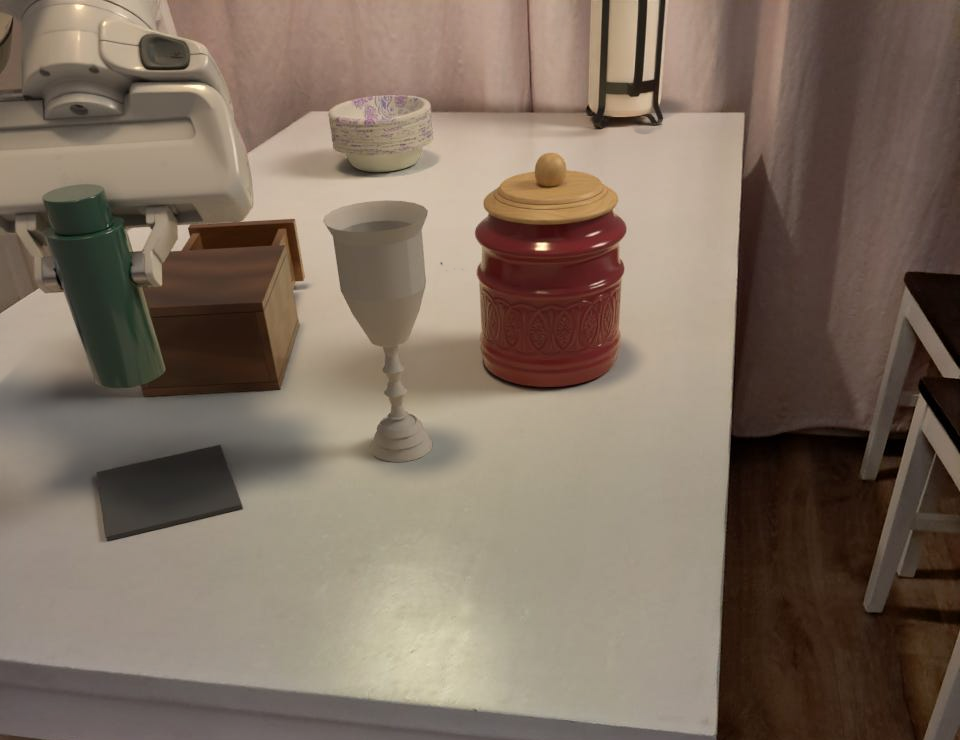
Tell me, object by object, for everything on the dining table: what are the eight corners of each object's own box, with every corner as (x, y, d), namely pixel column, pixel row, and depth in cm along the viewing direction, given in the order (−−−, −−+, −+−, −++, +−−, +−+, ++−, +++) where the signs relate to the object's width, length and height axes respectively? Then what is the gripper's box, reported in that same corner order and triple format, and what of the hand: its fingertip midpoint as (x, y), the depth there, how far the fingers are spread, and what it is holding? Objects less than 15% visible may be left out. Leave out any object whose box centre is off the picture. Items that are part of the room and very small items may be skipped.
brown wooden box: (178, 331, 96) (157, 251, 90) (299, 325, 96) (285, 244, 90) (143, 396, 85) (116, 310, 79) (280, 389, 85) (262, 302, 79)
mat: (97, 475, 74) (96, 471, 74) (221, 448, 77) (220, 444, 77) (107, 541, 67) (105, 536, 67) (243, 508, 70) (241, 504, 69)
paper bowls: (337, 183, 134) (329, 121, 129) (333, 156, 145) (325, 98, 140) (441, 173, 135) (437, 112, 130) (429, 147, 147) (425, 90, 141)
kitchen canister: (626, 334, 90) (638, 133, 78) (610, 395, 81) (621, 177, 69) (496, 328, 93) (490, 132, 81) (466, 386, 83) (453, 175, 72)
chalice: (439, 421, 79) (421, 196, 67) (451, 461, 74) (434, 225, 62) (354, 431, 78) (320, 206, 66) (360, 472, 73) (325, 236, 61)
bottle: (80, 376, 65) (16, 197, 57) (140, 352, 68) (87, 177, 60) (119, 395, 63) (57, 210, 55) (180, 369, 66) (129, 188, 58)
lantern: (556, 123, 155) (558, -107, 135) (618, 104, 162) (629, -115, 143) (635, 139, 145) (650, -106, 125) (698, 118, 153) (722, -115, 133)
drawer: (210, 270, 106) (197, 213, 102) (309, 265, 106) (299, 207, 102) (177, 332, 93) (160, 269, 89) (289, 326, 93) (277, 262, 89)
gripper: (-89, 63, 59) (-86, 273, 58) (230, 43, 58) (237, 254, 58) (-32, 124, 65) (-29, 315, 64) (256, 106, 65) (263, 298, 64)
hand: (99, 286), depth 61 cm, fingers closed on bottle, 5 cm apart
